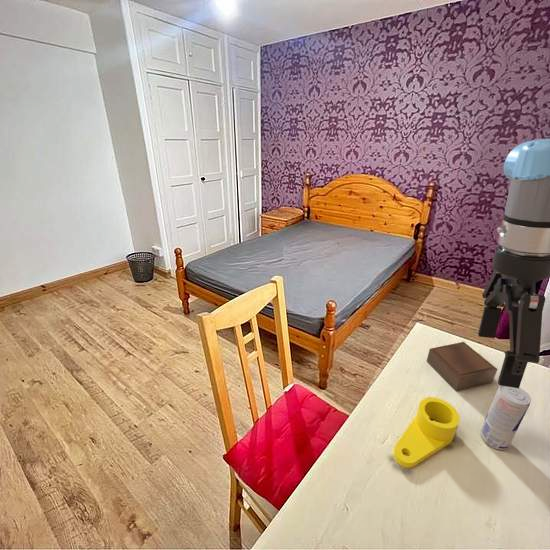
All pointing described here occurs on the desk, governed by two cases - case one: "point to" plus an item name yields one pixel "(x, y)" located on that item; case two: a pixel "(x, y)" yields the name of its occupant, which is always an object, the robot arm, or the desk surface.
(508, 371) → the robot arm
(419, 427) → the crank
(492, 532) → the desk surface
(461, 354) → the block
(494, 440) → the beverage can
